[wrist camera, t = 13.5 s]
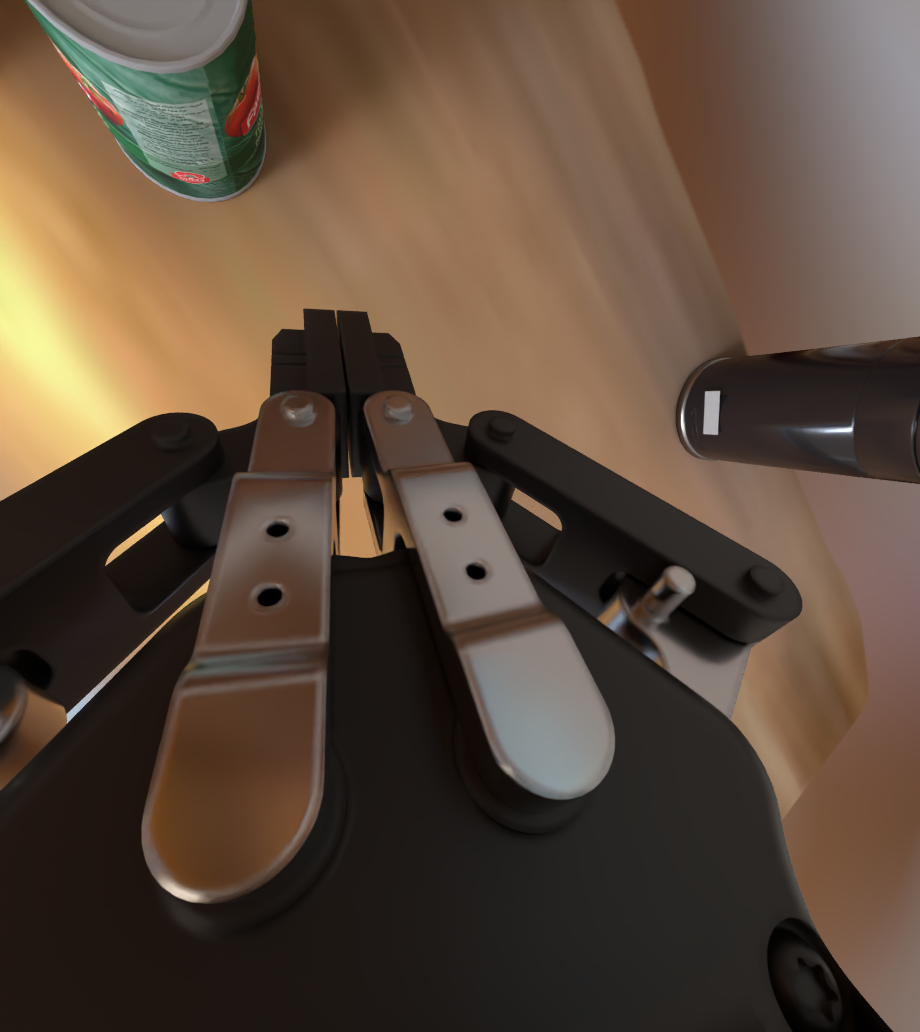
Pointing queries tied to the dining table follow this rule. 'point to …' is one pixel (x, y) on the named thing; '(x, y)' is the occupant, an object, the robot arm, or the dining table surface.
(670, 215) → the dining table surface
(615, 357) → the dining table surface
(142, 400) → the dining table surface
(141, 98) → the canned tomato
